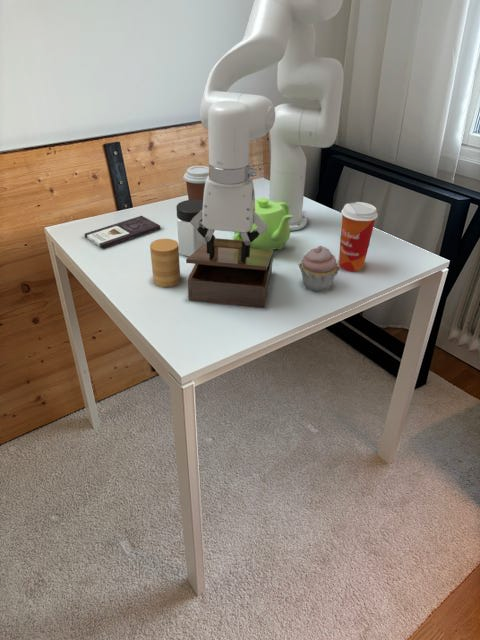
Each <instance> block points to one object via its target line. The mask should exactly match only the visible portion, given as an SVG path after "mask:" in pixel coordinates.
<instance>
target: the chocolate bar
mask: <svg viewBox="0 0 480 640" xmlns="http://www.w3.org/2000/svg"><path fill="white" fill-rule="evenodd" d="M158 230H161V225H160V224H158V223H156V222H155V221H153V220H151V219H149V218H147V217H145V216H144V215H139V216H136V217H133V218H130V219H126V220H123V221H120V222H117V223H114V224H111V225H108V226H104V227H101V228H97V229H95V230H91V231H88V232H86V233H84V238H86V239H87V240H89V241H91V242H92V243H93V244H95V245H97V246H98V247H99V248H101V249H106V248H109V247H112V246H115V245H117V244H120V243H124V242H127V241H129V240H131V239H135V238H137V237H140V236H143V235H146V234H150V233H152V232H156V231H158Z"/></svg>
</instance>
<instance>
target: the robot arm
mask: <svg viewBox="0 0 480 640" xmlns="http://www.w3.org/2000/svg"><path fill="white" fill-rule="evenodd" d="M343 2H344V0H254V1H253V4H252V8H251V10H250V15H249V18H248V20H247V21H248V22H247V24H246V27H245V30H244V35H243V38H242V40H240V41H239V42H237V43H236V44H234V46H233V47H231V48H230V49H229V50H228V51H226V52H225V53H224V54H223V55H222V56H221V58H219V59H218V60H217V61H216V62H215V64H214V65H213V67H212V68H211V70H210V71H209V75H208V77H207V80H206V82H205V85H204V89H203V93H202V97H201V101H200V107H199V118H200V122H201V125H202V126H203V128H204V129H205V130H206V131H207V133H208V167H209V176H208V177H207V178H206V182H205V188H204V196H203V209H202V210H201V211H200V212H199V213H198V214H197V215H196V216H194V217H193V218H192V220H191V221H190V223H191V224H192V225H193V226H194V227H195V228H196V229H197V230H198V232H199V233H200V234H201V235H202V236H203V237H204V238H205V241H206V242H207V254H209V259H211V260H212V259H213V258H214V246H213V242H214V238H216V236H215V235H214V233H215V231H221V232H231V233H234V232H240V233H241V236H242V238H243V240H244V241H243V244H242V262H244V263H245V261H246V258H247V257H249V256H250V243H251V242H252V241H254V240H255V239H256V238H257V237H258V236H259V235H261V234H262V233H263V232H264V231H266V229H267V224H266V223H265V222H264V221H263V220H262V219H261V218H260V217H259V216H258V215H257V214H256V213H255V200H256V195H255V193H256V192H255V185H254V180H253V178H251V177H256V176H257V168H255V167H254V168H253V167H252V166H251V165H250V146H251V145H250V144H251V143H250V141H251V140H256V139H257V140H258V139H260V138H262V137H263V138H264V137H265V136H266V135H267V134H269V137H270V171H269V172H270V173H269V190H268V199H269V200H271V201H274V202H276V203H278V202H285V203H286V204H287V205H288V206H289V213H288V215H292V216H293V217H291V218H290V219H289V221H288V222H289V228H290V232H291V231H292V232H293V231H298V230H301V229H303V228H304V227H305V226H306V225H307V224H308V218H307V217H306V215H304V214H303V206H304V196H305V184H306V174H307V157H306V155H305V154H306V153H305V152H304V150H303V149H302V146H304V147H312V148H319V149H321V148H322V149H325V148H326V149H327V148H330V147H332V146H333V145H334V143H335V142H336V140H337V137H338V133H339V126H340V125H339V124H340V118H341V117H340V116H341V109H342V108H341V107H342V98H343V89H344V79H345V78H344V76H345V75H344V68H343V65H342V63H341V62H340V61H339V60H338V59H337V58H333V57H322V56H316V53H315V50H316V49H315V48H316V35H317V33H316V29H315V26H314V24H323V23H326V22H328V21H329V20H331V19H333V18H334V17H335V16H336V15H338V13H339V11H340V10H341V7H342V5H343ZM275 65H277V76H276V85H277V91H278V93H279V95H280V96H282V97H283V98H286V99H290V100H291V99H292V100H298V101H299V100H300V101H309V102H318V103H319V105H320V106H317V105H308V104H302V103H301V104H300V103H298V104H297V103H281V104H278V105H276V106H275V105H274V103H273V102H272V100H271V99H269V98H268V97H266V96H264V95H259V94H251V93H243V92H233V91H228V90H229V89H230V88H231V87H232V86H233V85H234V84H235V83H237V82H238V81H239V80H241V79H242V78H245V77H247V76H251V75H253V74H255V73H257V72H261V71H264V70H266V69H268V68H271V67H273V66H275ZM281 207H282V208H283V210H284V206H281ZM201 219H202V221H203V225H202V224H201V222H200V220H201ZM254 223H255V224H256V225H257V226H258V228H257V229H255V230H254V231H252V232H250V231H251V229H252V225H253V224H254Z"/></svg>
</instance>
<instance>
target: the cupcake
mask: <svg viewBox="0 0 480 640" xmlns="http://www.w3.org/2000/svg"><path fill="white" fill-rule="evenodd" d="M300 261H301V262H300V263H298V264H297V265H298V267H299V270H300V271H299V272H300V273H301V277H302V283H303V286H304V287H305V288H306V289H308V290H310V291H313V292H325V291H327V290H329V289H330V288H331V287H332V285H333V283H334V279H335V278H336V276H337V275H338V273H339V271H340V269H341V267H340V266H339V263H338V262H337V259H336V257H335V255H334V254H332V252H331V251H330V249H329V248H327V247H326V246H323V245H319V246H317V247H314V248H311V249H309V250H308V251H307V252H306V253H305V255H303V257H302V259H301V260H300Z"/></svg>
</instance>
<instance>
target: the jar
mask: <svg viewBox="0 0 480 640" xmlns="http://www.w3.org/2000/svg"><path fill="white" fill-rule="evenodd" d="M175 208H176V217H177V218H176V226H177V242H178V248H179V255H181V256H185V257H189V256H190V255H192V254H193V253H194V252H195V251H196V250H197V249H198V248H199V247H201V246H202V245H203V244H206V245H207V242H206V241H205V238H204V237H203V236H202V235H201V234H200V233H199V232H198V230H197V229H196V228H195V227H194V226H193V225H192V224H191V223H190V221H191V220H192V218H193V217H194V216H196V215H197V214H198V213H199V212H200V211H201V210H202V209H203V201H202V200H188V199H186V200H183V201H180V202H178V203H177V204H176V206H175ZM200 222H201V224H202V225H203V221H202V219H201V220H200Z"/></svg>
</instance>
